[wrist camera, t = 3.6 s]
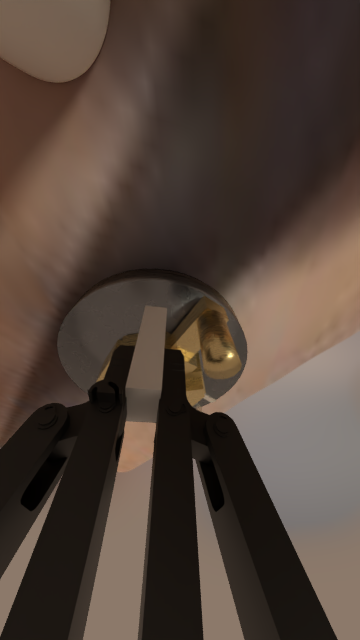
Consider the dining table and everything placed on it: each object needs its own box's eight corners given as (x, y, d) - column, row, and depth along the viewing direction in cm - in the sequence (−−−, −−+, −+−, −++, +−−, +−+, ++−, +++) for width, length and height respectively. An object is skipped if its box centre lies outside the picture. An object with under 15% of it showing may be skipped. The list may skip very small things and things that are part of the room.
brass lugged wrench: (169, 403, 27) (168, 463, 21) (93, 377, 24) (66, 441, 18) (256, 325, 19) (292, 385, 13) (163, 266, 16) (157, 315, 10)
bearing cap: (110, 221, 17) (76, 240, 11) (276, 329, 24) (308, 374, 18) (50, 365, 27) (16, 414, 21) (179, 410, 34) (180, 455, 29)
